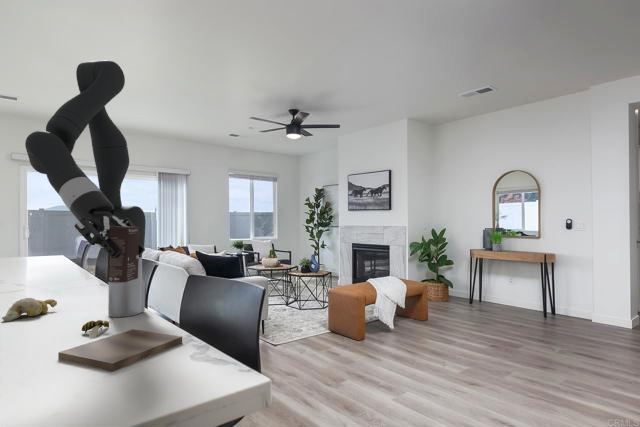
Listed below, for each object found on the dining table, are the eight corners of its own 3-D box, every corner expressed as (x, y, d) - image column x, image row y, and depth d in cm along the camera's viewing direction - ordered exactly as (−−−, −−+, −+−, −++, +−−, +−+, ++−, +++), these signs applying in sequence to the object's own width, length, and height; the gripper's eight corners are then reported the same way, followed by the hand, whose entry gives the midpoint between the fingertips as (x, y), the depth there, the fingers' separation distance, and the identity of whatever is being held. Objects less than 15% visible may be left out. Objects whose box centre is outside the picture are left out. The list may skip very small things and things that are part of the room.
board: (132, 335, 94) (132, 329, 94) (182, 343, 88) (182, 336, 88) (58, 359, 78) (58, 352, 78) (112, 371, 71) (112, 363, 71)
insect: (87, 321, 101) (96, 304, 101) (110, 328, 103) (118, 312, 103) (72, 340, 90) (81, 322, 90) (97, 348, 92) (106, 330, 92)
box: (127, 283, 80) (128, 226, 81) (106, 283, 80) (106, 226, 80) (140, 278, 86) (140, 226, 87) (120, 278, 86) (120, 226, 86)
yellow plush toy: (-8, 299, 111) (49, 288, 124) (-8, 319, 111) (49, 306, 124) (7, 308, 106) (65, 296, 119) (7, 329, 107) (65, 314, 119)
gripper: (68, 186, 78) (115, 244, 75) (120, 191, 92) (162, 240, 89) (47, 212, 80) (93, 270, 77) (101, 213, 94) (142, 262, 91)
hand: (130, 254), depth 83 cm, fingers closed on box, 6 cm apart
